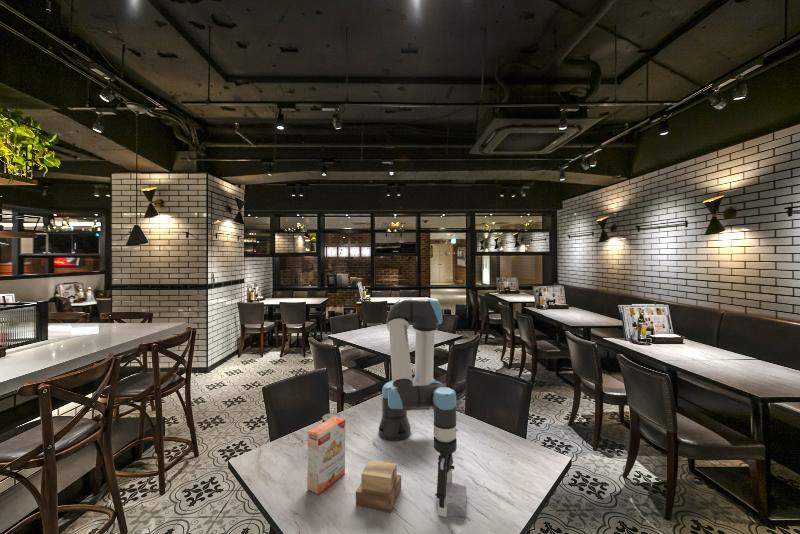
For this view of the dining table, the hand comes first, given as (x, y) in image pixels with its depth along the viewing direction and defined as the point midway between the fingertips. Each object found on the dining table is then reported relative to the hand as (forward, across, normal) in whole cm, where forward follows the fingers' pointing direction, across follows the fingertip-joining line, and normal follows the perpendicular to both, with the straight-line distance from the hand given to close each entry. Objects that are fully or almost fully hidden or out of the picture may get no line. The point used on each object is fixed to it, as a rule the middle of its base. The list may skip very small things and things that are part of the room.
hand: (445, 501), depth 108 cm
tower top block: (-4, -4, +22) cm, 23 cm away
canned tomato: (0, +23, +55) cm, 60 cm away
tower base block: (+1, -4, +22) cm, 22 cm away
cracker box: (0, -2, +43) cm, 43 cm away
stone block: (+1, 0, -2) cm, 2 cm away
